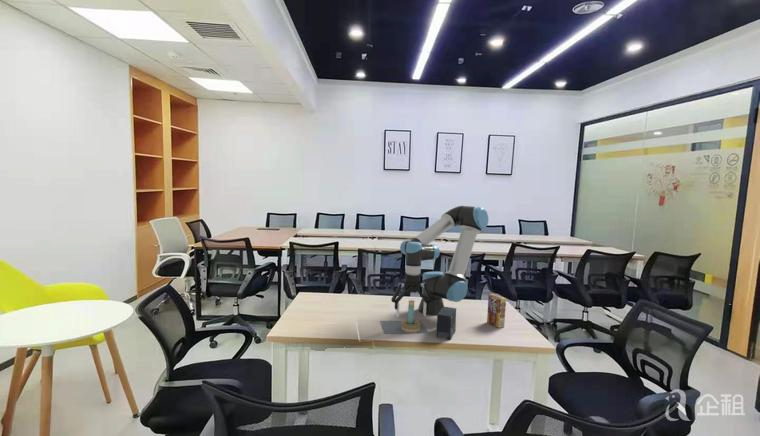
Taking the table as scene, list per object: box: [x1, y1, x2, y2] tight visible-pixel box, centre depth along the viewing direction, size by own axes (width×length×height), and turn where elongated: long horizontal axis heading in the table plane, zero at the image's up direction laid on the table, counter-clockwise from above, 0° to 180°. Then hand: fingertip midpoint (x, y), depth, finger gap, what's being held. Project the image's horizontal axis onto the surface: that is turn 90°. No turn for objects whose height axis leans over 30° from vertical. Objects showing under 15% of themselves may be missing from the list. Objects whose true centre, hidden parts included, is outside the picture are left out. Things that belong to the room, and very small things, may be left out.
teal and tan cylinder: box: [407, 299, 415, 324], centre depth 174 cm, size 3×3×14 cm
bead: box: [401, 318, 420, 332], centre depth 174 cm, size 9×9×3 cm
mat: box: [379, 320, 430, 335], centre depth 176 cm, size 22×17×1 cm
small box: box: [436, 306, 457, 341], centre depth 169 cm, size 13×7×12 cm, turn 157°
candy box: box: [486, 293, 507, 329], centre depth 185 cm, size 9×4×15 cm, turn 26°
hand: (411, 315), depth 174 cm, fingers open, 13 cm apart
